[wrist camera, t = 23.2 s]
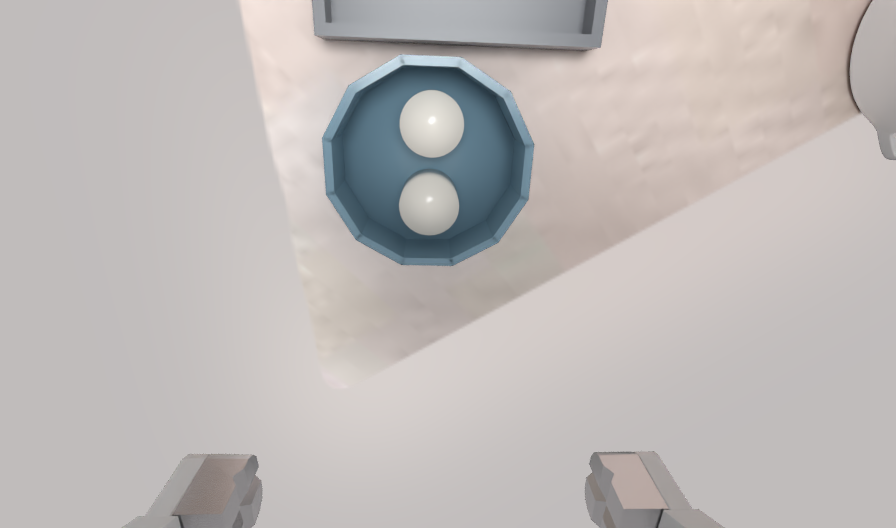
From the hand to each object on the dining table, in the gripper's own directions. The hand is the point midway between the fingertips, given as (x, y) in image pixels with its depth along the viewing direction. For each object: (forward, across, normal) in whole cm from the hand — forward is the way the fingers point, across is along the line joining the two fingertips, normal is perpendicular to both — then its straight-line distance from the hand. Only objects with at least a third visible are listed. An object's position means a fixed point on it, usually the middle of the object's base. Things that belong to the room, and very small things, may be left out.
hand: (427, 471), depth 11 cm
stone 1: (+28, 0, -6) cm, 29 cm away
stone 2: (+28, 0, 0) cm, 28 cm away
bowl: (+29, 0, -3) cm, 29 cm away
